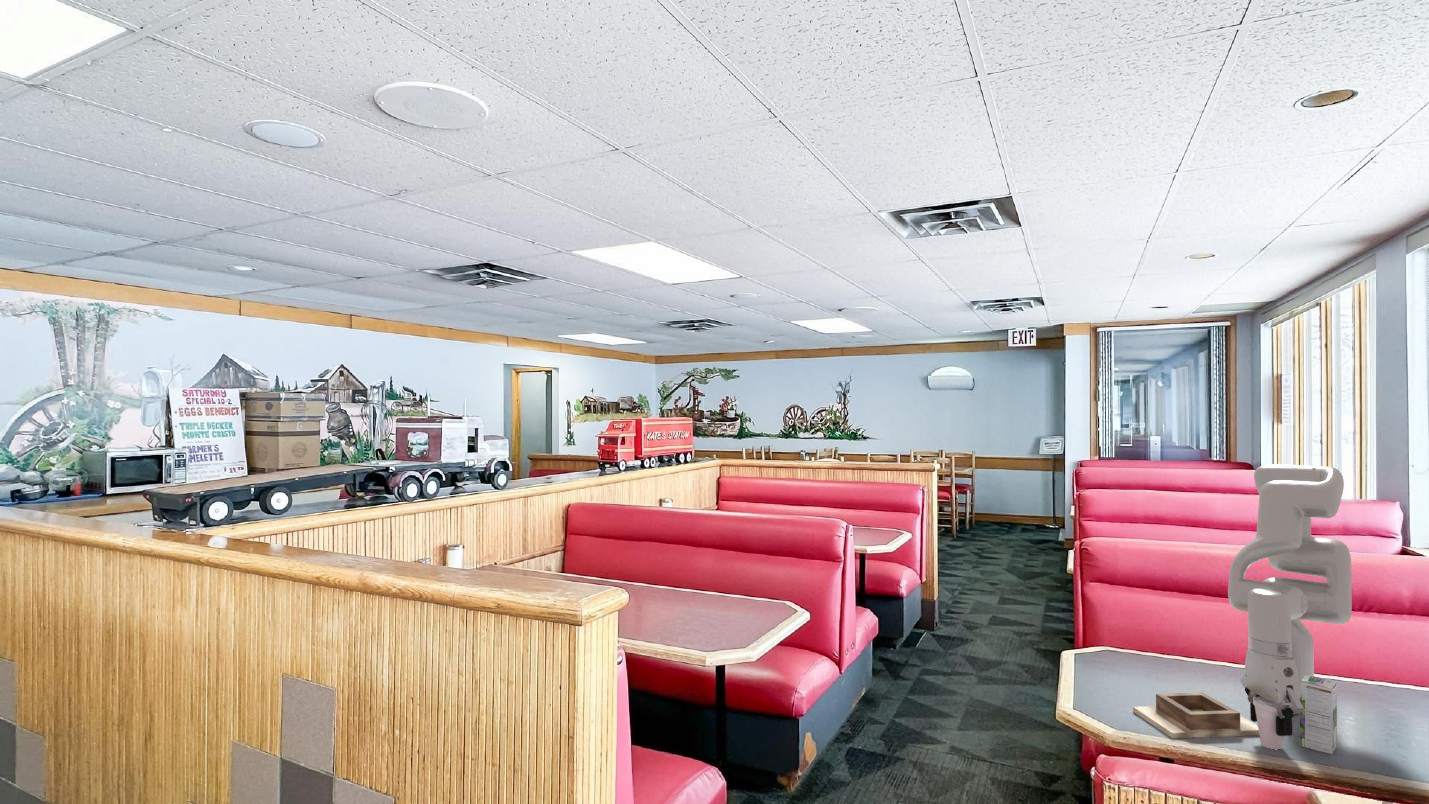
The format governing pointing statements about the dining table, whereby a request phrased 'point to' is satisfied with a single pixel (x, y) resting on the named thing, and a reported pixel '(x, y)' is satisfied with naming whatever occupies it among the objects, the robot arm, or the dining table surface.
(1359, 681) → the dining table surface
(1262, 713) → the smoothie
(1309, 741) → the syrup box
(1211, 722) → the socket stand
